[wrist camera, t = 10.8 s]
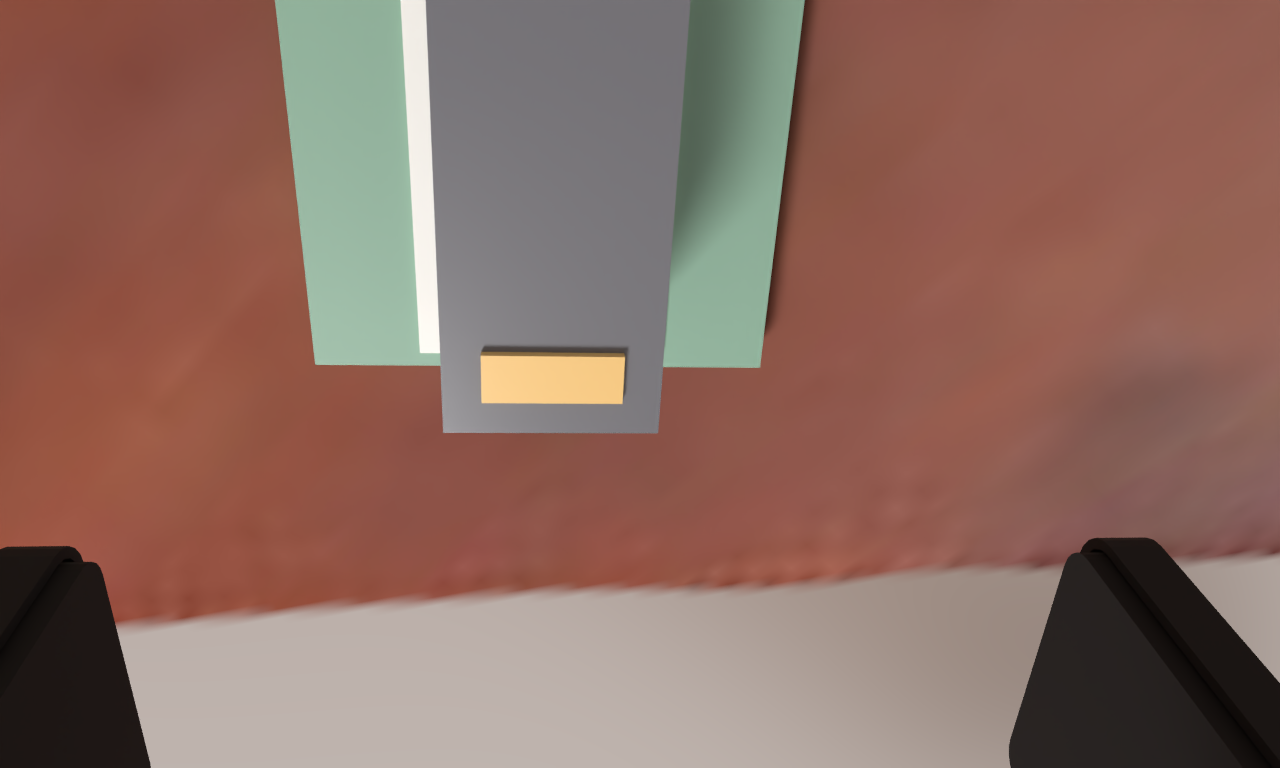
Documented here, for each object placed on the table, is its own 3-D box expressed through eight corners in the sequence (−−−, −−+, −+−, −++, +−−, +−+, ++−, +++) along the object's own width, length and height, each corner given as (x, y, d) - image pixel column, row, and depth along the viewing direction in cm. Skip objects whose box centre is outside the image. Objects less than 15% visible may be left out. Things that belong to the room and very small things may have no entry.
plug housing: (658, -50, 24) (693, -18, 19) (636, 325, 29) (658, 437, 24) (449, -61, 24) (423, -31, 19) (460, 323, 29) (442, 437, 23)
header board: (807, -116, 25) (868, -105, 21) (752, 349, 32) (790, 440, 27) (271, -146, 24) (205, -142, 19) (322, 346, 30) (283, 441, 25)
